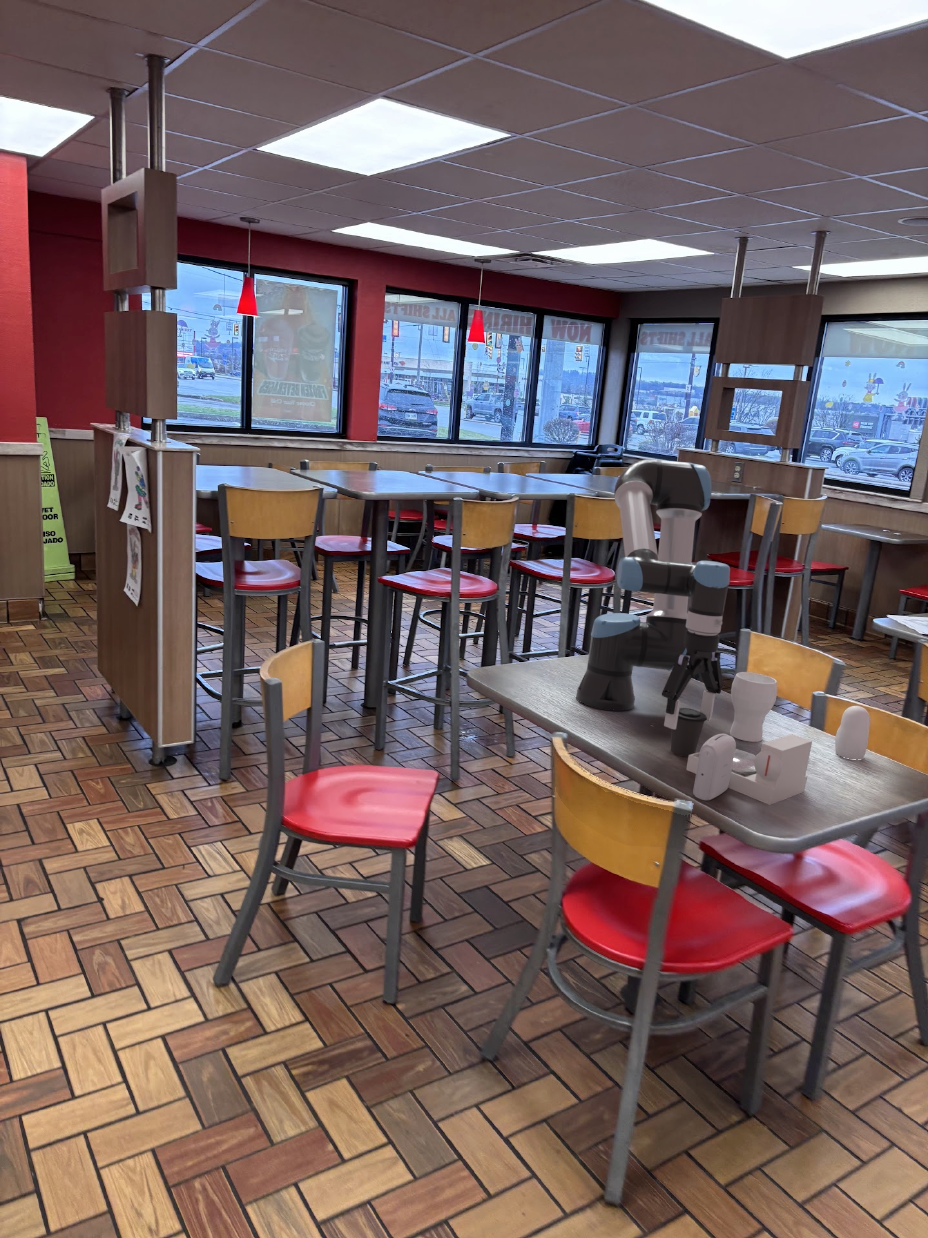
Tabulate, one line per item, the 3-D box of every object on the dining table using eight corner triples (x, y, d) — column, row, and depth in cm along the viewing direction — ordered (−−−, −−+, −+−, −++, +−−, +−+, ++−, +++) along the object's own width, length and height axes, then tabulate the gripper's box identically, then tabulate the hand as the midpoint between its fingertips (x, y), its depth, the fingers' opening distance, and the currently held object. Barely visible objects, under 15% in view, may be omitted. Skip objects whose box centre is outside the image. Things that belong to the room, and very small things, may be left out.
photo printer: (709, 803, 179) (719, 744, 176) (689, 795, 182) (699, 737, 179) (730, 790, 187) (741, 733, 184) (711, 783, 190) (721, 727, 187)
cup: (770, 747, 216) (782, 687, 213) (725, 740, 218) (735, 680, 215) (765, 733, 226) (776, 675, 223) (721, 726, 228) (731, 669, 225)
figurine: (863, 753, 219) (873, 706, 216) (866, 763, 212) (876, 715, 209) (832, 747, 221) (841, 700, 218) (834, 757, 214) (843, 709, 211)
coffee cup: (680, 760, 201) (687, 718, 199) (657, 747, 208) (663, 705, 206) (708, 757, 205) (715, 715, 202) (684, 744, 212) (691, 703, 209)
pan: (693, 767, 195) (695, 753, 195) (724, 757, 203) (726, 744, 203) (742, 787, 187) (745, 773, 186) (772, 776, 195) (775, 762, 194)
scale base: (686, 769, 196) (694, 719, 193) (722, 758, 205) (730, 710, 202) (773, 806, 181) (783, 753, 178) (807, 792, 190) (818, 741, 188)
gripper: (683, 639, 189) (668, 736, 193) (748, 631, 206) (732, 721, 210) (654, 631, 194) (640, 725, 199) (719, 624, 211) (705, 711, 215)
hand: (687, 723), depth 204 cm, fingers open, 13 cm apart
